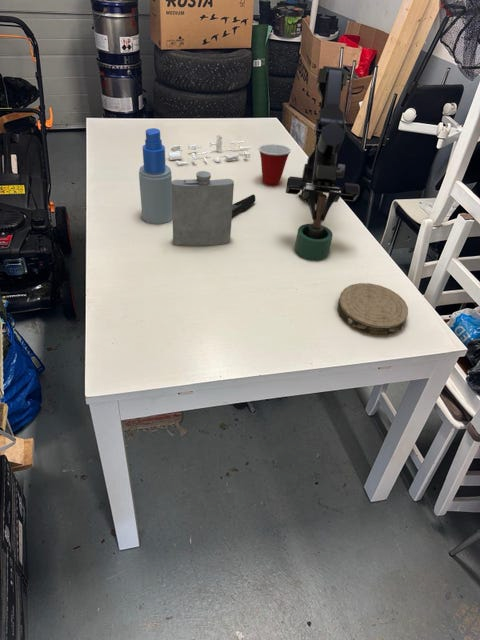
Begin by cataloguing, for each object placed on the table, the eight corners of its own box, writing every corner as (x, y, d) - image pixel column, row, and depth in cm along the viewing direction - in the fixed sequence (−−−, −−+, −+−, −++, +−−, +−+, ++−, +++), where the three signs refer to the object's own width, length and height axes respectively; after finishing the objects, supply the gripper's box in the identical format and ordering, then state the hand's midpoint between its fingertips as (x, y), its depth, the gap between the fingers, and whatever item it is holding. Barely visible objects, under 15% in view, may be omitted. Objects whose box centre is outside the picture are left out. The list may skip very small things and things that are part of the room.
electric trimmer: (258, 205, 147) (259, 196, 145) (227, 221, 137) (228, 212, 135) (248, 201, 149) (249, 192, 146) (218, 217, 139) (218, 207, 137)
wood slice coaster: (416, 332, 105) (421, 323, 103) (352, 339, 102) (355, 329, 100) (386, 290, 117) (389, 280, 115) (327, 295, 113) (329, 285, 111)
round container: (315, 239, 133) (318, 220, 129) (335, 256, 127) (339, 237, 123) (288, 246, 129) (291, 227, 125) (307, 263, 123) (311, 244, 119)
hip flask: (229, 237, 131) (233, 169, 117) (231, 244, 128) (236, 176, 115) (172, 239, 128) (170, 170, 114) (174, 247, 125) (172, 177, 111)
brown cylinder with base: (310, 234, 128) (319, 190, 119) (323, 239, 126) (333, 195, 118) (303, 240, 125) (312, 195, 117) (317, 245, 124) (326, 200, 115)
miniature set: (247, 146, 181) (258, 162, 174) (159, 157, 172) (167, 175, 165) (248, 130, 176) (259, 147, 169) (158, 141, 167) (166, 159, 160)
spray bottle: (153, 206, 141) (148, 122, 125) (178, 214, 138) (176, 129, 122) (136, 218, 135) (128, 131, 118) (162, 227, 132) (158, 139, 116)
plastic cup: (276, 173, 166) (281, 140, 158) (291, 186, 158) (297, 152, 151) (249, 177, 162) (252, 143, 154) (264, 190, 155) (268, 155, 147)
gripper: (292, 145, 114) (284, 206, 113) (368, 154, 113) (360, 215, 112) (289, 163, 125) (282, 219, 124) (358, 171, 124) (351, 228, 123)
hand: (318, 220), depth 120 cm, fingers closed on brown cylinder with base, 2 cm apart
